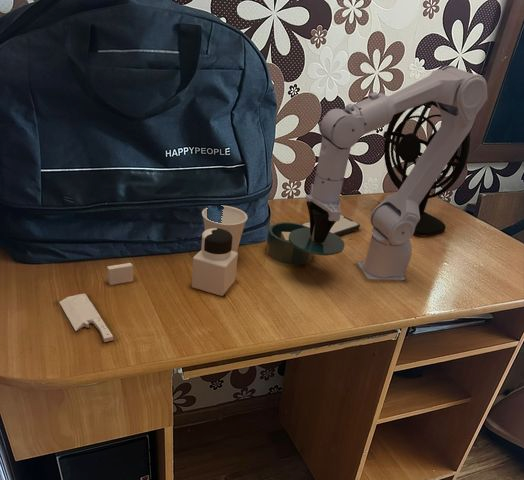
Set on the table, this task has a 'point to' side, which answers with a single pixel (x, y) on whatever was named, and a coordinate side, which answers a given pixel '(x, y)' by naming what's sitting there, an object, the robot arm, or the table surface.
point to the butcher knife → (84, 314)
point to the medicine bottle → (215, 262)
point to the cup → (228, 223)
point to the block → (285, 236)
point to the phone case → (341, 226)
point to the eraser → (120, 273)
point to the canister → (285, 245)
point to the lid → (307, 244)
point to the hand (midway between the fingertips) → (317, 238)
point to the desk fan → (409, 153)
